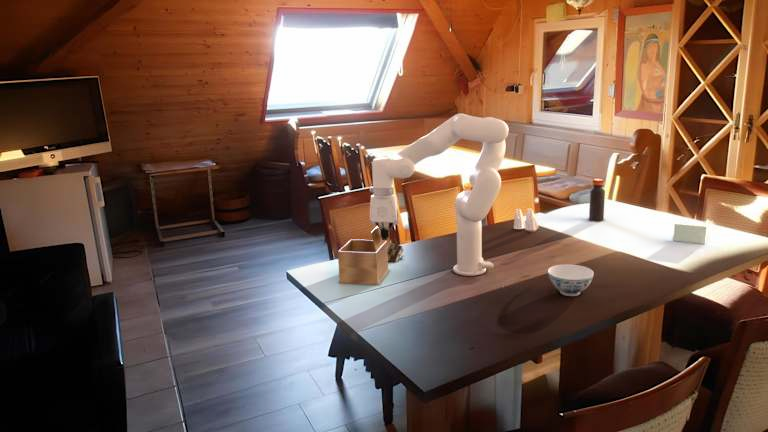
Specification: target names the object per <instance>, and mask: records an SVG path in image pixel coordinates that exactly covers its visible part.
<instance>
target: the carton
mask: <svg viewBox="0 0 768 432" xmlns="http://www.w3.org/2000/svg"><path fill="white" fill-rule="evenodd" d="M387 248H388V240H386V241H385V242H384V243H383V245H382V246H381V247H380V248H379V249H378V250H377V251H375V246H374V242H373V239H350V240H348V242H346V243H345V244H344V245H343V246H342V247H341V248H340V249H339V250H338V251H337V261H338V262H337V263H338V276H339V283H340V284H354V285H356V284H357V285H371V286H379V284H380V282H381V281H382V280H383V279H384V277H385V276H386V275H387V274H388V272H389V260H388V251H387Z"/></svg>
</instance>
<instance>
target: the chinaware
mask: <svg viewBox="0 0 768 432" xmlns="http://www.w3.org/2000/svg"><path fill="white" fill-rule="evenodd" d="M594 274H595V273H594V271H593V270H592V269H591V268H589V267H587V266H583V265H579V264H568V263H567V264H566V263H565V264H556V265H553V266H551V267H548V268H547V275H548V278H549V280H550V283H551V284H552V286H553V287H554V288H555V289H556V290H558V291H559V293H560V294H561V295H563V296H567V297H577V296H579V295H580V294H581V292H583V291H584V290H586V289H587V288H588V287H589V286H590V285H591V282H592V281H593V278H594Z"/></svg>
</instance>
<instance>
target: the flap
mask: <svg viewBox="0 0 768 432" xmlns="http://www.w3.org/2000/svg"><path fill="white" fill-rule="evenodd" d="M370 234H371V238H372V240H373V242H374V246H375V251H377V250H378V249H379V248H380V247H381V246H382V245H383V243H384V242H385V241H387V240H385V239H384V240H382V237H381V230H380V229H379V227H378V226H377V225H376V227H375V228H374V229H373V230H371V232H370Z"/></svg>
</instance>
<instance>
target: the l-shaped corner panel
mask: <svg viewBox="0 0 768 432" xmlns="http://www.w3.org/2000/svg"><path fill="white" fill-rule="evenodd" d="M709 224H710V220H709V219H706V221H705V223H704V225H698V224H687V223H676V222H675V223H674V230H673V241H674V242H683V243H692V244H701V245H705V244H706V242H707V239H708V236H709V234H708V233H709V227H710V225H709Z"/></svg>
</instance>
